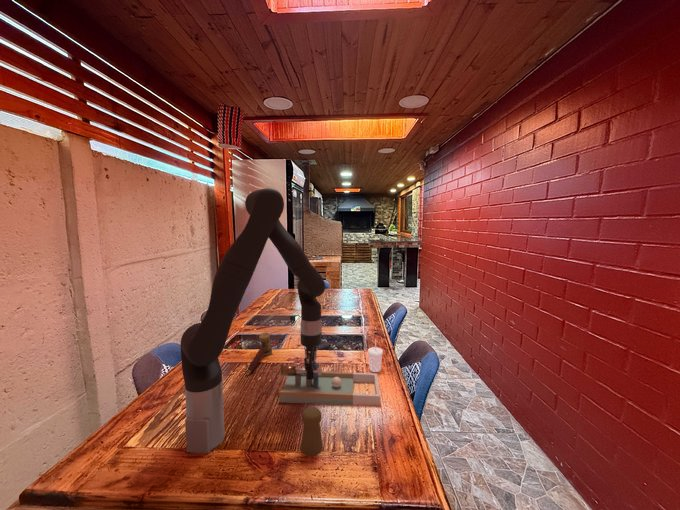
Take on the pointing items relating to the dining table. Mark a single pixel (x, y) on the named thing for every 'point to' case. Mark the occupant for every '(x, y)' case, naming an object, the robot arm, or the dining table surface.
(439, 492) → the dining table surface
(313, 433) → the pepper mill
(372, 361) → the beverage cup
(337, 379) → the ball
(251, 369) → the gavel
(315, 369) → the rod
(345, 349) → the dining table surface
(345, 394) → the pitch board
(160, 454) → the dining table surface
